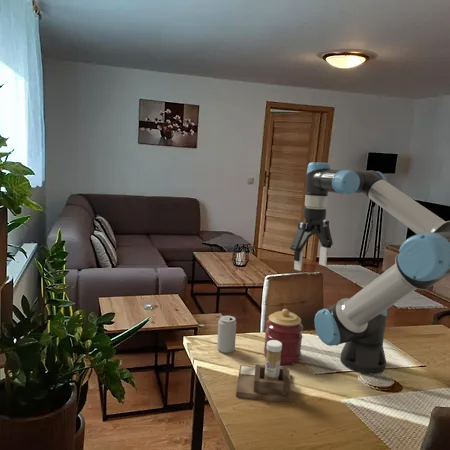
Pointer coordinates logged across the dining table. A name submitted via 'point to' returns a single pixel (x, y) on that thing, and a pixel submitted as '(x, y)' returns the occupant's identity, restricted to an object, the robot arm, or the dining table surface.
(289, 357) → the canister
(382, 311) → the robot arm
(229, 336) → the beverage can
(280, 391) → the spice caddy
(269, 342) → the sprinkles bottle
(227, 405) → the dining table surface
